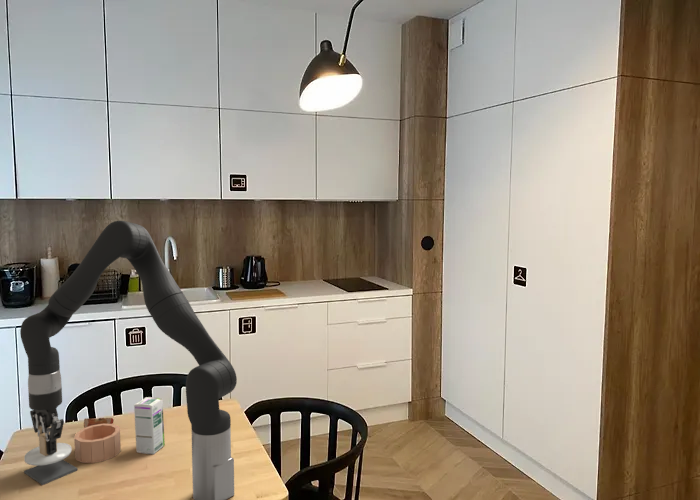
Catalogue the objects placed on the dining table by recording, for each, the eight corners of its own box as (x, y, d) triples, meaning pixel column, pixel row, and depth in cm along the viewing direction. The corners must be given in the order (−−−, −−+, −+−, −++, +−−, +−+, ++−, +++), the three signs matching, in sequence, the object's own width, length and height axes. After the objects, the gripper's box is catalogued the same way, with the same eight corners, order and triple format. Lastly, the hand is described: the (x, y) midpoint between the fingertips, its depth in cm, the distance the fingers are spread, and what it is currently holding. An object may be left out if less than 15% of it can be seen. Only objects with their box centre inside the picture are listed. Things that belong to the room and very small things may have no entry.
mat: (77, 470, 141) (77, 468, 141) (42, 485, 133) (42, 482, 133) (59, 459, 147) (59, 457, 146) (24, 472, 139) (24, 470, 139)
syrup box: (154, 454, 150) (152, 405, 148) (135, 452, 151) (133, 403, 149) (165, 445, 155) (163, 398, 154) (146, 443, 156) (145, 396, 155)
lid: (79, 453, 141) (78, 432, 140) (36, 469, 132) (35, 447, 131) (59, 441, 147) (58, 421, 146) (17, 457, 138) (15, 435, 137)
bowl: (128, 450, 152) (128, 430, 151) (89, 467, 143) (88, 445, 142) (106, 439, 159) (105, 420, 158) (67, 454, 149) (66, 434, 149)
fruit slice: (80, 438, 160) (79, 422, 159) (90, 428, 166) (89, 413, 166) (108, 437, 160) (107, 422, 159) (117, 428, 167) (116, 412, 166)
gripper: (73, 389, 136) (76, 453, 138) (47, 378, 144) (50, 438, 146) (42, 398, 130) (46, 465, 132) (17, 386, 138) (20, 449, 140)
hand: (48, 451), depth 139 cm, fingers closed on lid, 3 cm apart
